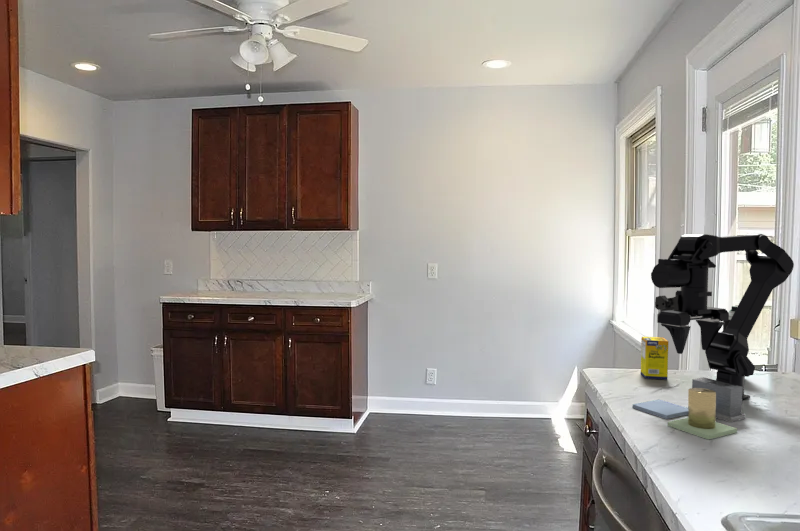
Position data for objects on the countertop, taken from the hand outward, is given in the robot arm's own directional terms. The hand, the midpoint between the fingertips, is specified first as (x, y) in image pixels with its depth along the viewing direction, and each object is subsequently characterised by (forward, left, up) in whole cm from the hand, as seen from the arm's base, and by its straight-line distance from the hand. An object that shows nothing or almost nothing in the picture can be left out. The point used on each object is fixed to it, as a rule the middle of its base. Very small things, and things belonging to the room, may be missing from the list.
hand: (692, 351), depth 134 cm
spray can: (-32, -10, -12) cm, 36 cm away
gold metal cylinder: (+16, +14, -11) cm, 24 cm away
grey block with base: (+4, +9, -12) cm, 15 cm away
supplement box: (-12, -20, -12) cm, 26 cm away
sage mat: (+16, +14, -12) cm, 24 cm away
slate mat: (+12, +2, -12) cm, 17 cm away
